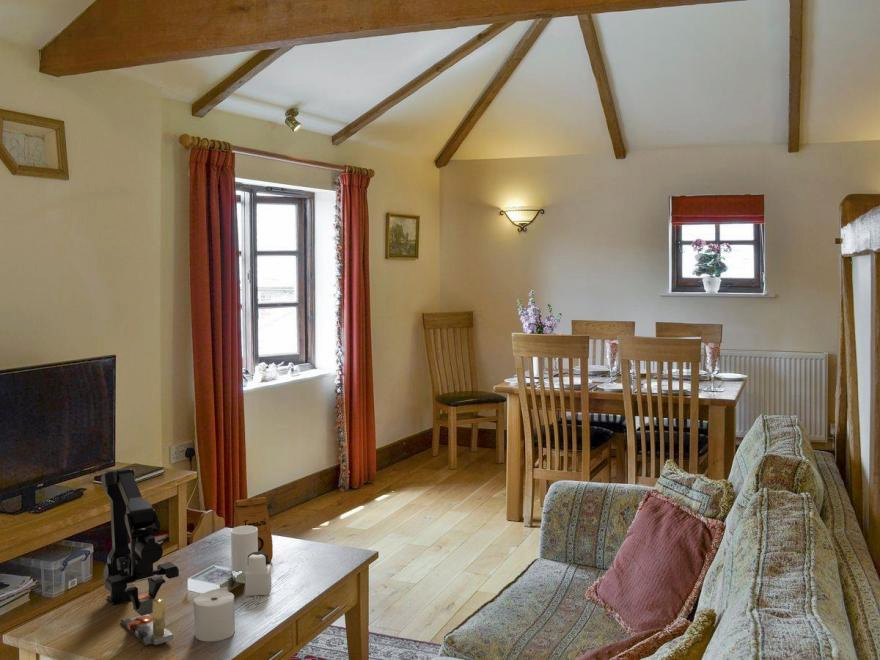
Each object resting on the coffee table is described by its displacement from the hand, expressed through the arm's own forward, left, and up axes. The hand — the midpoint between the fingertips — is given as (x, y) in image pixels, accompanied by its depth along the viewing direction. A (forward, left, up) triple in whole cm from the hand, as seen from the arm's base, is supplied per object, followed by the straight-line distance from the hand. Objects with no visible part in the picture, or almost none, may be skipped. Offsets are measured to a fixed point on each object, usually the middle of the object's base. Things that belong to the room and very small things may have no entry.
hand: (143, 607), depth 233 cm
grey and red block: (0, 0, -1) cm, 1 cm away
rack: (+5, -1, -5) cm, 7 cm away
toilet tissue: (+14, +14, -7) cm, 21 cm away
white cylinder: (-15, +39, -7) cm, 42 cm away
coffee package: (-26, +48, -7) cm, 55 cm away
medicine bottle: (-3, +37, -7) cm, 38 cm away
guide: (+1, 0, -6) cm, 7 cm away
